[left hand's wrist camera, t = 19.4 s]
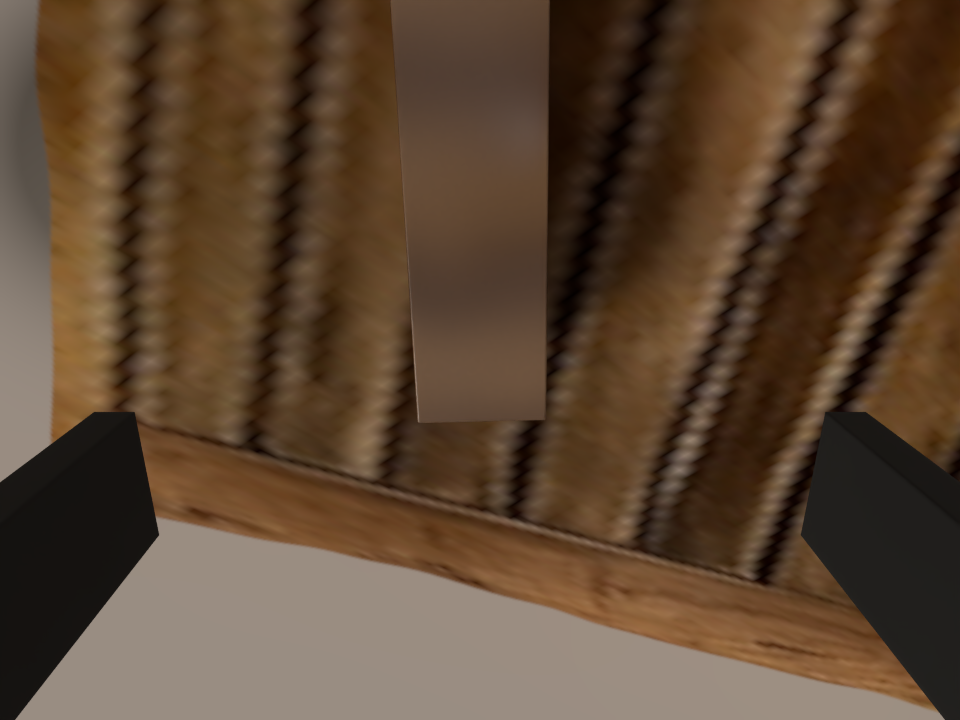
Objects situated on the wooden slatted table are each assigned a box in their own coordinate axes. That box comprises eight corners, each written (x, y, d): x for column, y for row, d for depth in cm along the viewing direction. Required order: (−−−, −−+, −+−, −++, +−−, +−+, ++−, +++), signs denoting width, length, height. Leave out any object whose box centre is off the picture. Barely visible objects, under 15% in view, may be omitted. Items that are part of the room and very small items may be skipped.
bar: (530, 350, 37) (546, 420, 28) (432, 353, 37) (417, 423, 28) (531, -257, 27) (554, -430, 19) (399, -253, 27) (362, -423, 19)
